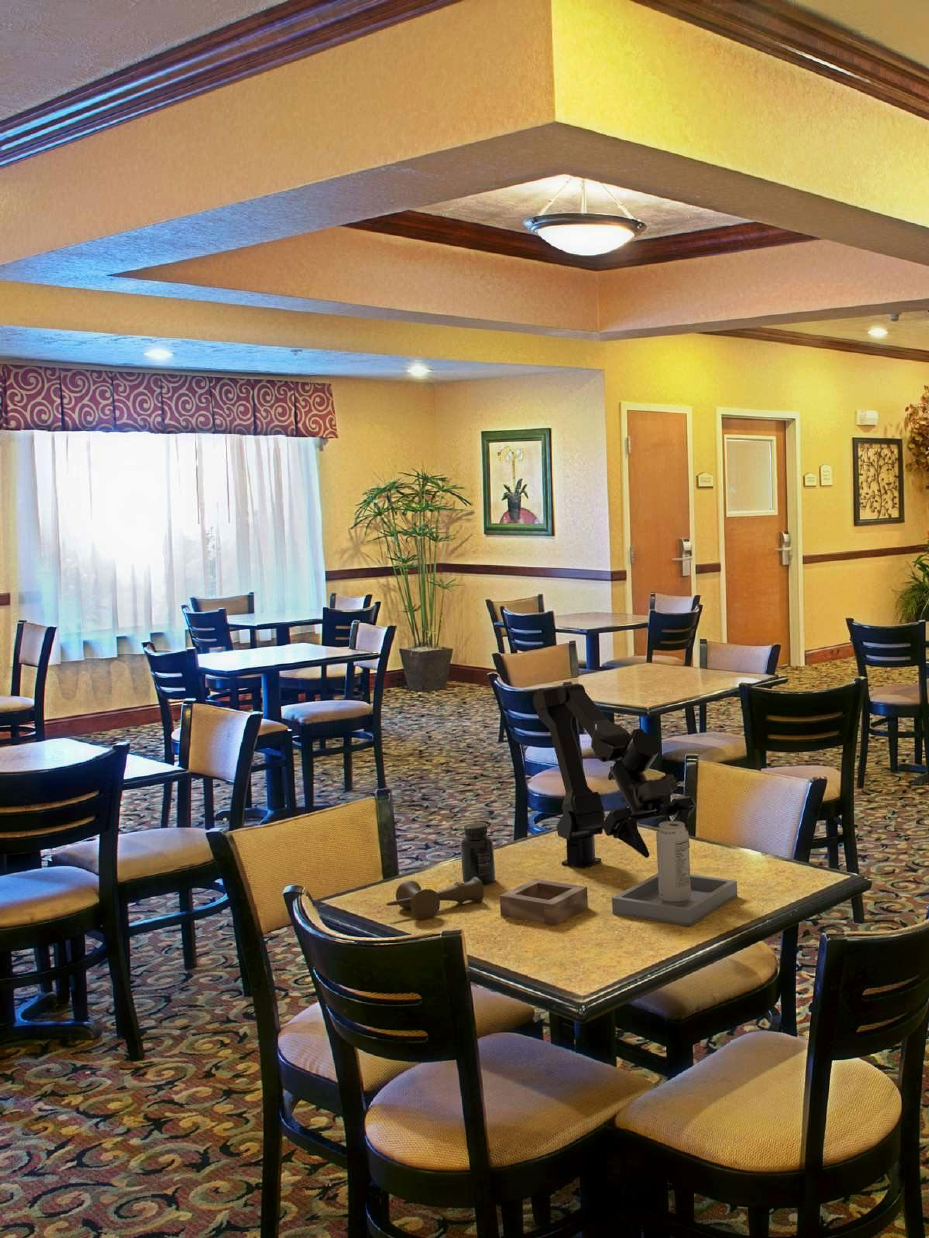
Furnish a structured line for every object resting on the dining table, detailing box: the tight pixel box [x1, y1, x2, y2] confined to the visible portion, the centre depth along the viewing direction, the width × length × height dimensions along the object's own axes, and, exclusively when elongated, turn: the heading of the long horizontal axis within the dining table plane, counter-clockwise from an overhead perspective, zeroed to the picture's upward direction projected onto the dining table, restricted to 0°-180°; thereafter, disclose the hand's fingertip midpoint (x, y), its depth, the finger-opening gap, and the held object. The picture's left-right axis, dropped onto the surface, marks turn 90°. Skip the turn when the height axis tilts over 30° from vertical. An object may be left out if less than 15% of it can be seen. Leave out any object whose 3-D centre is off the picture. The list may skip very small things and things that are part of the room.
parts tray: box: [611, 872, 738, 928], centre depth 237 cm, size 20×16×3 cm
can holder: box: [499, 878, 589, 927], centre depth 237 cm, size 12×12×4 cm
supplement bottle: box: [459, 822, 496, 886], centre depth 258 cm, size 7×7×12 cm
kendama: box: [385, 877, 485, 921], centre depth 242 cm, size 6×10×20 cm
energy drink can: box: [655, 820, 691, 906], centre depth 236 cm, size 6×6×15 cm
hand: (668, 852), depth 237 cm, fingers open, 9 cm apart
